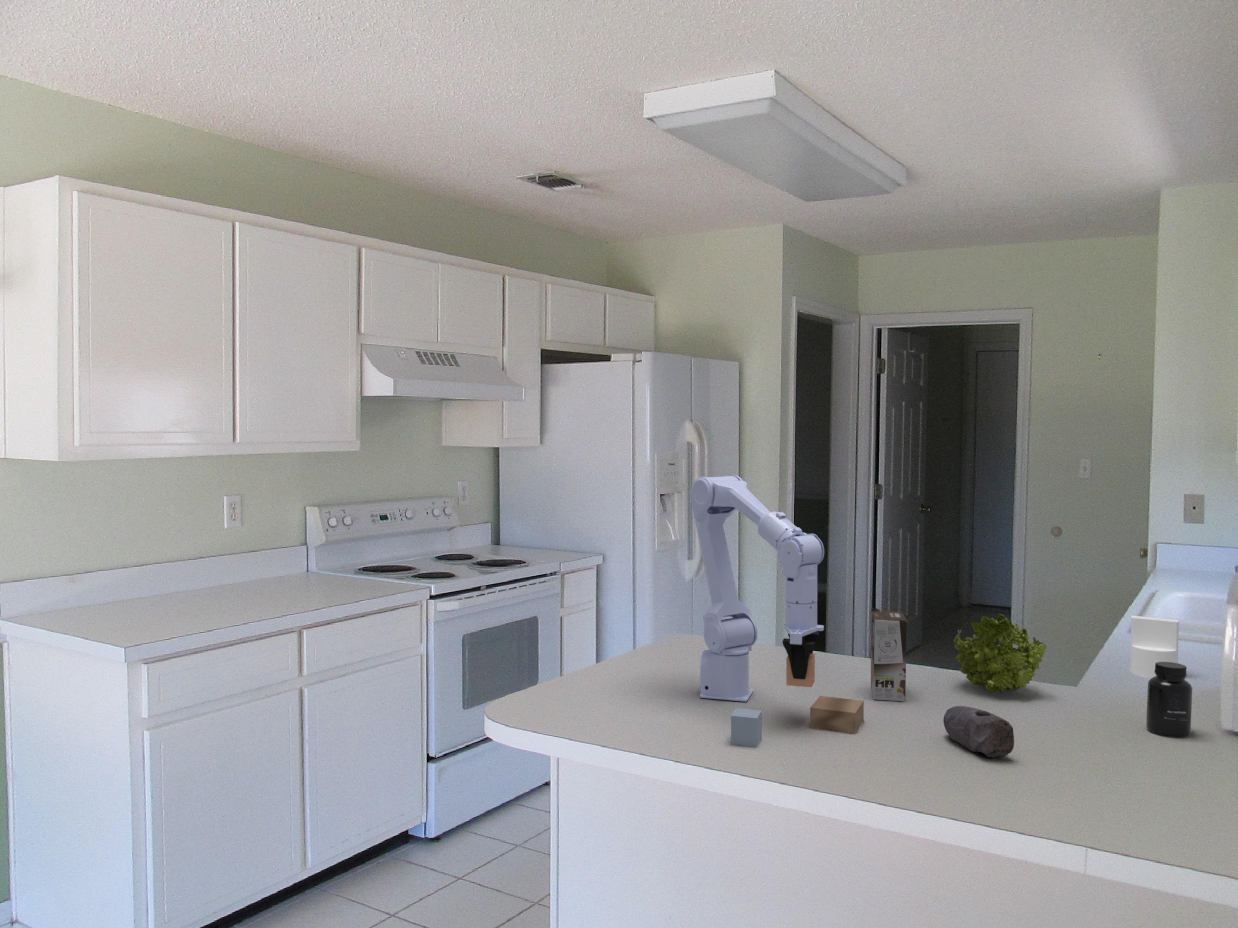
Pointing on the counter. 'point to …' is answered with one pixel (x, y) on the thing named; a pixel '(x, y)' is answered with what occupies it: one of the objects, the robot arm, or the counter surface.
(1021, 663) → the lettuce head
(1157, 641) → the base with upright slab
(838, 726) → the walnut block
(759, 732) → the slate-grey block
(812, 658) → the terracotta block
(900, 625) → the coffee box
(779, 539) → the robot arm
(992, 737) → the perforated stone tool
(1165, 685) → the supplement bottle
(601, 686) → the counter surface
